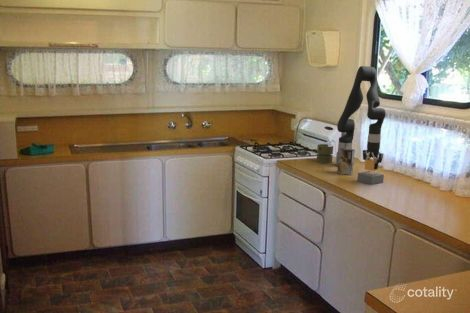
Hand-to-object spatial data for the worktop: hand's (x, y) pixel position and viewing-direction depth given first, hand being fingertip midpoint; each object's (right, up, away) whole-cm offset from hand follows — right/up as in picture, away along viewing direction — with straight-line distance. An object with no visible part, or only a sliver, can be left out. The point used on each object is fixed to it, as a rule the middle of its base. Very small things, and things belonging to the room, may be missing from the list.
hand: (371, 168), depth 297 cm
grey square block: (0, -8, +2) cm, 8 cm away
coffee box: (-11, -4, +22) cm, 25 cm away
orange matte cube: (0, -1, 0) cm, 1 cm away
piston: (-18, +3, +57) cm, 60 cm away
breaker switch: (0, -6, +1) cm, 6 cm away
